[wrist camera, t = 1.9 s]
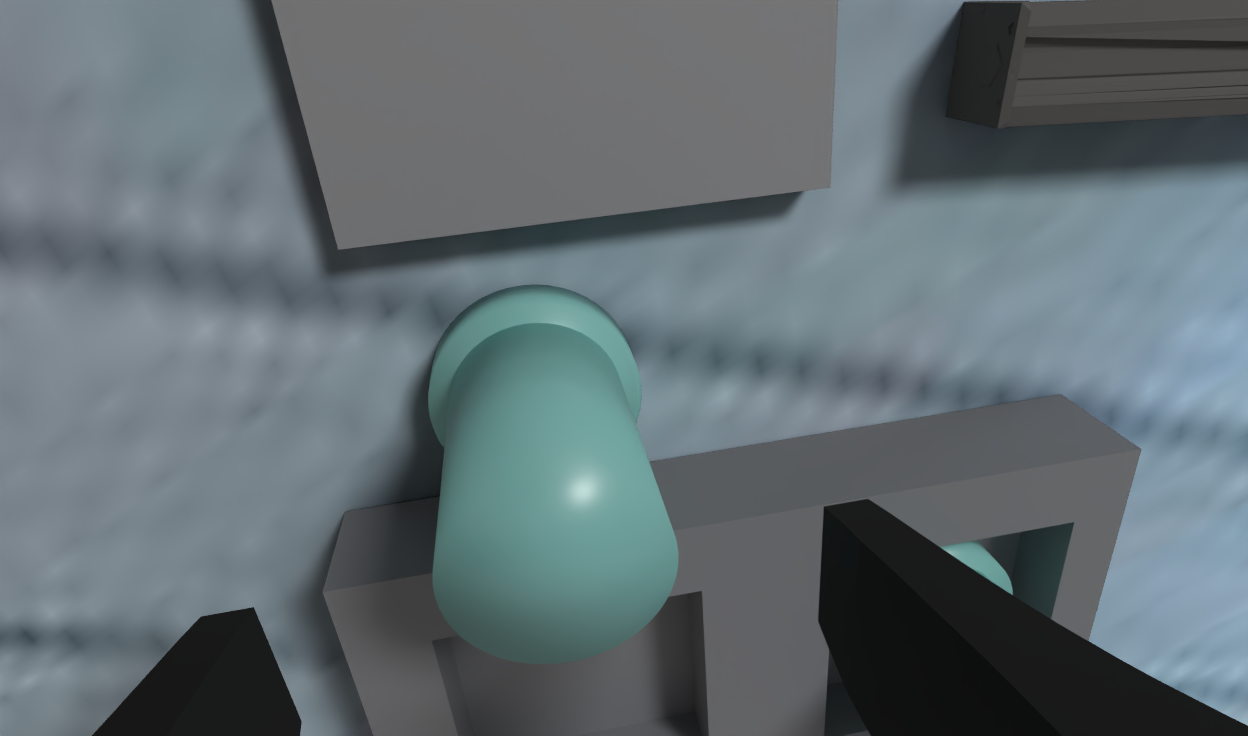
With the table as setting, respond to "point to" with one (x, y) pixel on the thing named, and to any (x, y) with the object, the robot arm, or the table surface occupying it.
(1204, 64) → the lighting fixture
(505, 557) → the peg
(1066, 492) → the housing
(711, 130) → the lid
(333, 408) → the table surface
